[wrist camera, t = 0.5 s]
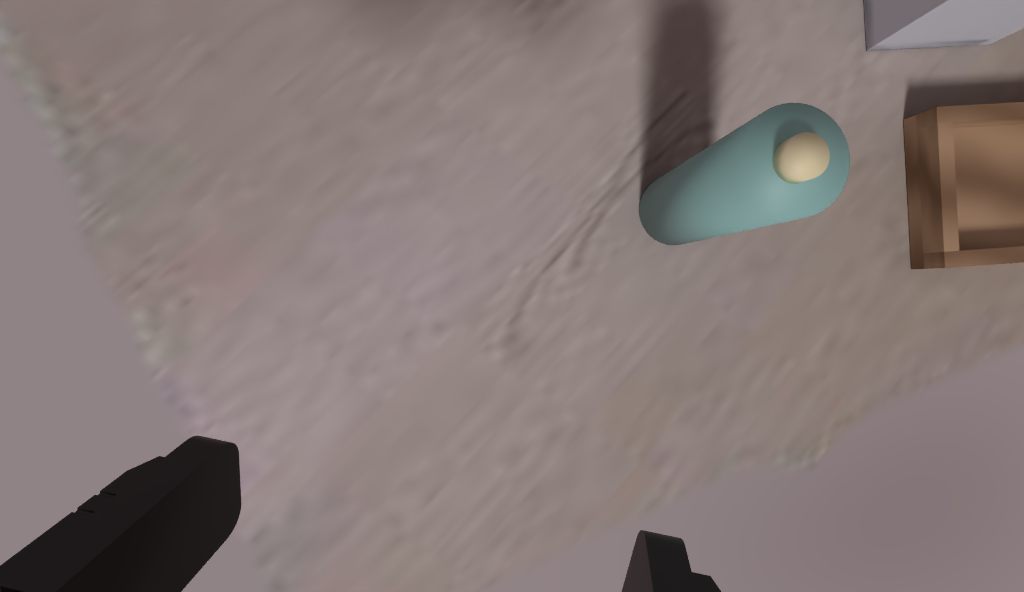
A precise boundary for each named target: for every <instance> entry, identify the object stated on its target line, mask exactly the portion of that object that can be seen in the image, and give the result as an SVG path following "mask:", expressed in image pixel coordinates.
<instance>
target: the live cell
mask: <svg viewBox="0 0 1024 592" xmlns="http://www.w3.org/2000/svg"><path fill="white" fill-rule="evenodd" d="M849 168H850V154H849V148H848V144H847V141H846V138H845V136H844V134H843V132H842V130H841V129H840V127H839V126H838V125H837V123H836V122H835V121H834V120H833V119H832V118H831V117H830V116H829V115H827V114H826V113H825V112H823V111H821V110H820V109H818V108H816V107H813V106H810V105H807V104H801V103H787V104H781V105H778V106H775V107H772V108H770V109H768V110H767V111H765V112H763V113H762V114H760V115H758V116H757V117H755V118H754V119H752V120H750V121H749V122H747V123H746V124H744V125H742V126H741V127H739V128H738V129H736V130H734V131H733V132H731V133H730V134H728V135H726V136H725V137H723V138H722V139H720V140H718V141H717V142H715V143H714V144H712V145H710V146H709V147H707V148H706V149H704V150H703V151H701V152H699V153H698V154H696V155H695V156H693V157H691V158H690V159H688V160H687V161H685V162H683V163H682V164H680V165H679V166H677V167H675V168H674V169H672V170H671V171H669V172H667V173H666V174H664V175H663V176H661V177H659V178H658V179H656V180H655V181H653V182H652V183H651V184H650V185H649V186H648V187H647V188H646V190H645V191H644V193H643V195H642V197H641V200H640V205H639V215H640V220H641V223H642V225H643V227H644V229H645V230H646V232H647V233H648V234H649V235H650V236H651V237H652V238H654V239H655V240H657V241H658V242H661V243H663V244H667V245H680V244H685V243H690V242H694V241H699V240H703V239H708V238H713V237H717V236H722V235H727V234H731V233H736V232H741V231H745V230H750V229H754V228H759V227H764V226H768V225H773V224H778V223H782V222H787V221H792V220H796V219H801V218H805V217H809V216H812V215H815V214H817V213H819V212H821V211H823V210H824V209H826V208H827V207H828V206H830V205H831V204H832V203H833V202H834V201H835V200H836V199H837V197H838V196H839V195H840V193H841V191H842V190H843V188H844V186H845V183H846V181H847V178H848V174H849Z"/></svg>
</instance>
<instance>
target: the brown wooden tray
mask: <svg viewBox="0 0 1024 592" xmlns="http://www.w3.org/2000/svg"><path fill="white" fill-rule="evenodd" d="M903 122H904V141H905V159H906V178H907V197H908V215H909V234H910V253H911V269H928V268H949V267H963V266H977V265H991V264H1004V263H1018V262H1024V102H1011V103H993V104H975V105H957V106H940V107H935V108H932V109H930V110H927V111H924V112H922V113H919V114H917V115H914V116H912V117H909V118H907V119H904V120H903Z"/></svg>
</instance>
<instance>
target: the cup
mask: <svg viewBox="0 0 1024 592" xmlns="http://www.w3.org/2000/svg"><path fill="white" fill-rule="evenodd" d="M864 15H865V33H866V51H871V50H891V49H911V48H931V47H951V46H971V45H989V44H992V43H994V42H996V41H998V40H1000V39H1002V38H1004V37H1006V36H1008V35H1010V34H1012V33H1014V32H1017V31H1019V30H1021V29H1023V28H1024V0H864Z"/></svg>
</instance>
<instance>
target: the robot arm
mask: <svg viewBox="0 0 1024 592" xmlns="http://www.w3.org/2000/svg"><path fill="white" fill-rule="evenodd" d="M240 510H241V488H240V468H239V451H238V447H237V446H236V445H235V444H234V443H231V442H226V441H221V440H216V439H212V438H207V437H202V436H193V437H191V438H189V439H188V440H186V441H185V442H184V443H182V444H181V445H180V446H179V447H177V448H176V449H175V450H174V451H172V452H171V453H170V454H169V455H167V456H166V457H161V456H159V457H156V458H154V459H152V460H150V461H148V462H145V463H143V464H141V465H139V466H137V467H135V468H132V469H130V470H128V471H126V472H125V473H124V474H122V475H121V476H120V477H119V478H117V479H116V480H114V481H113V482H112V483H110V484H109V485H108V486H106V487H105V488H104V489H102V490H101V491H100V494H99V495H94V496H93V497H91V498H90V499H89V500H87V501H86V502H85V503H83V504H82V505H81V506H79V507H78V510H77V511H76V512H75V513H73V512H71V513H70V514H69V515H67V516H66V517H65V518H63V519H62V520H61V521H59V522H58V523H57V524H55V525H54V526H53V527H52V528H50V529H49V530H47V531H46V532H45V533H43V534H42V535H41V536H40V537H38V538H37V539H35V540H34V541H33V542H31V543H30V544H29V545H27V546H26V547H25V548H23V549H22V550H21V551H20V552H18V553H17V554H15V555H14V556H13V557H11V558H10V559H9V560H7V561H6V562H5V563H3V564H2V565H1V566H0V592H181V591H182V590H183V589H184V588H185V587H186V585H187V584H188V583H189V582H190V581H191V580H192V578H193V577H194V576H195V575H196V574H197V573H198V571H199V570H200V569H201V568H202V567H203V566H204V565H205V564H206V562H207V561H208V560H209V559H210V558H211V557H212V556H213V554H214V553H215V552H216V551H217V550H218V549H219V547H220V546H221V545H222V544H223V543H224V542H225V541H226V539H227V538H228V537H229V535H230V534H231V533H232V531H233V529H234V527H235V525H236V523H237V521H238V518H239V515H240ZM622 592H721V591H720V589H719V588H718V587H717V585H716V584H715V582H714V581H713V579H712V578H711V577H710V576H707V575H702V574H698V573H693V572H691V568H690V564H689V560H688V556H687V552H686V548H685V544H684V542H683V540H682V539H681V538H677V537H672V536H667V535H662V534H658V533H653V532H648V531H643V530H641V531H640V532H639V533H638V536H637V539H636V542H635V546H634V550H633V553H632V557H631V560H630V564H629V567H628V571H627V575H626V578H625V582H624V585H623V589H622Z"/></svg>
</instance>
